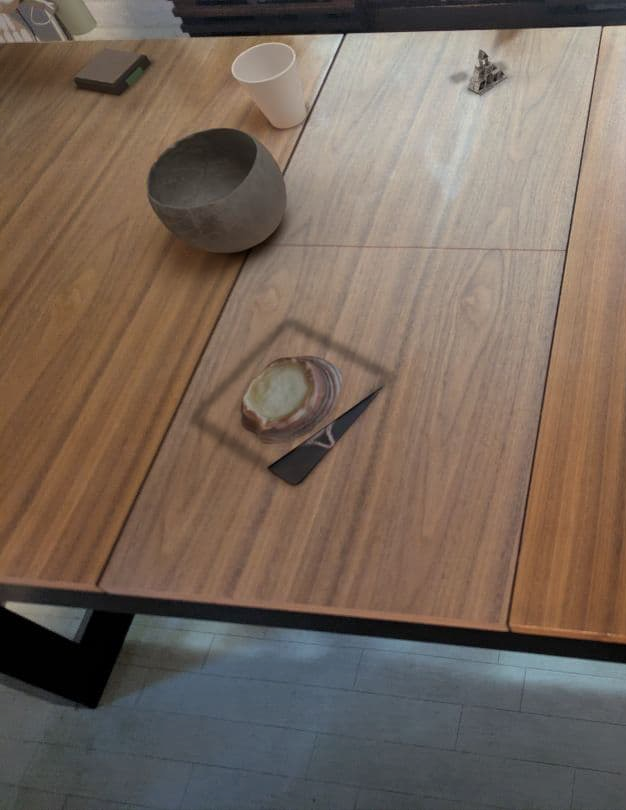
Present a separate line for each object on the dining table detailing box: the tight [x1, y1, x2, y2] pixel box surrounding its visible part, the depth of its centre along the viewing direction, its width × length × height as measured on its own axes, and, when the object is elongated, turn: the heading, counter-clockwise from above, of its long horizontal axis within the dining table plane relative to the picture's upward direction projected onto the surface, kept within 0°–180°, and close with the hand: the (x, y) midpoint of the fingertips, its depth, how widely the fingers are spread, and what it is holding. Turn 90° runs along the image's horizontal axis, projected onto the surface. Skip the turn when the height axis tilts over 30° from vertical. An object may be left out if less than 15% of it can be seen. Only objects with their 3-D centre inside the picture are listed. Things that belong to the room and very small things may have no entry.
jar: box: [51, 0, 98, 37], centre depth 137 cm, size 6×6×10 cm
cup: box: [230, 41, 307, 130], centre depth 133 cm, size 12×12×12 cm
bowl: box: [145, 127, 288, 254], centre depth 117 cm, size 20×20×15 cm
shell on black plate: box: [240, 355, 385, 485], centre depth 102 cm, size 21×20×4 cm
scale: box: [73, 47, 152, 96], centre depth 150 cm, size 11×11×3 cm
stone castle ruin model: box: [467, 48, 508, 96], centre depth 136 cm, size 9×9×8 cm
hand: (67, 0), depth 136 cm, fingers closed on jar, 5 cm apart
